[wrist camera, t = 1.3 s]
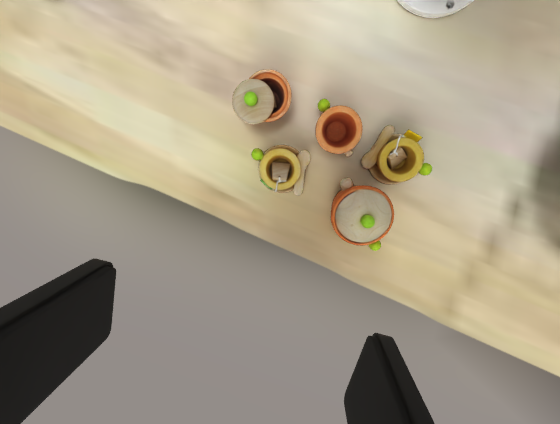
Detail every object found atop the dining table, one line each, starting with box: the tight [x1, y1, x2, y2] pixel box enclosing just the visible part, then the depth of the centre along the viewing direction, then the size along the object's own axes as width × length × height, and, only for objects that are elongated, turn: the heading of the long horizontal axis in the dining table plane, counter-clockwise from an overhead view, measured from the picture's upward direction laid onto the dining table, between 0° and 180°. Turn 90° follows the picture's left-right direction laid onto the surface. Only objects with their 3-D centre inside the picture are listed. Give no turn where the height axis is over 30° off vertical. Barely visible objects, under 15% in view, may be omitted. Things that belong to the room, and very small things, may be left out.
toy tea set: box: [232, 69, 432, 251], centre depth 31 cm, size 26×16×10 cm, turn 64°
